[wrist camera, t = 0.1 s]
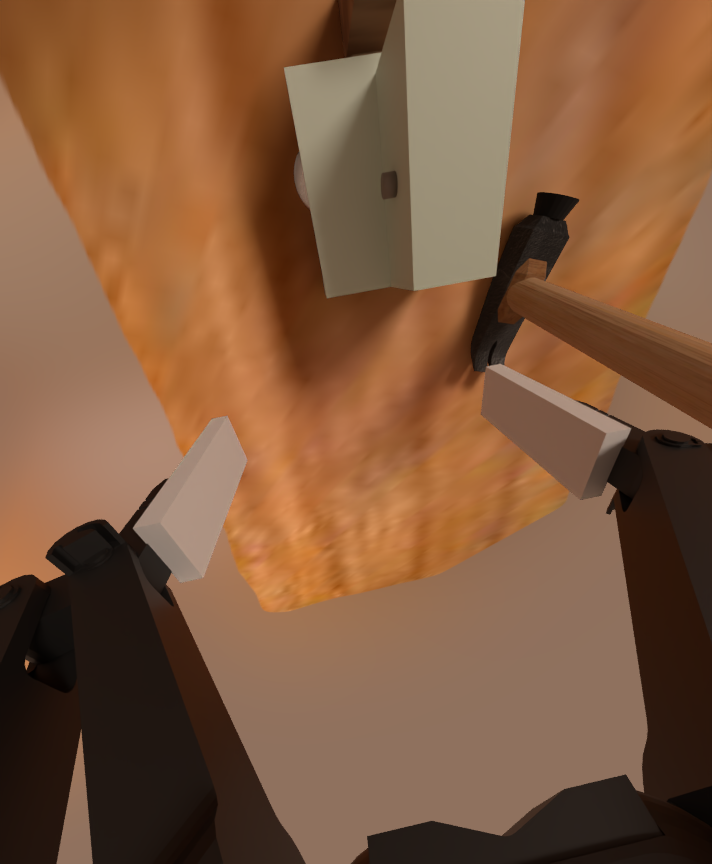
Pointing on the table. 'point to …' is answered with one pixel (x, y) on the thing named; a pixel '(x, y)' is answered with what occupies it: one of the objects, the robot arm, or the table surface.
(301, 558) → the table surface
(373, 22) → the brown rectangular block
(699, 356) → the hammer
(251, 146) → the table surface
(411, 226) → the plinth shelf
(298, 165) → the chrome dome knob
